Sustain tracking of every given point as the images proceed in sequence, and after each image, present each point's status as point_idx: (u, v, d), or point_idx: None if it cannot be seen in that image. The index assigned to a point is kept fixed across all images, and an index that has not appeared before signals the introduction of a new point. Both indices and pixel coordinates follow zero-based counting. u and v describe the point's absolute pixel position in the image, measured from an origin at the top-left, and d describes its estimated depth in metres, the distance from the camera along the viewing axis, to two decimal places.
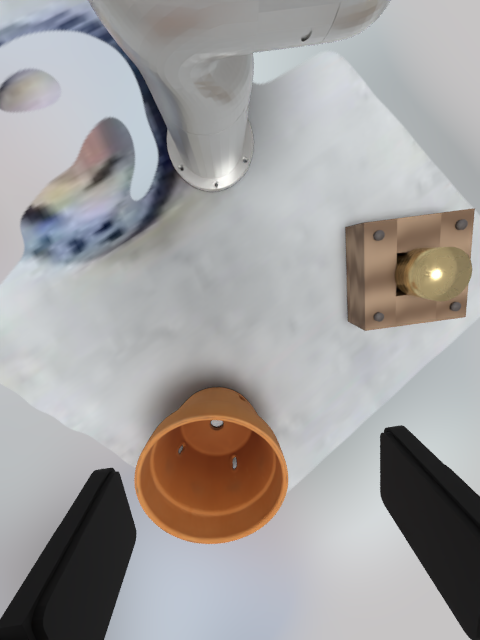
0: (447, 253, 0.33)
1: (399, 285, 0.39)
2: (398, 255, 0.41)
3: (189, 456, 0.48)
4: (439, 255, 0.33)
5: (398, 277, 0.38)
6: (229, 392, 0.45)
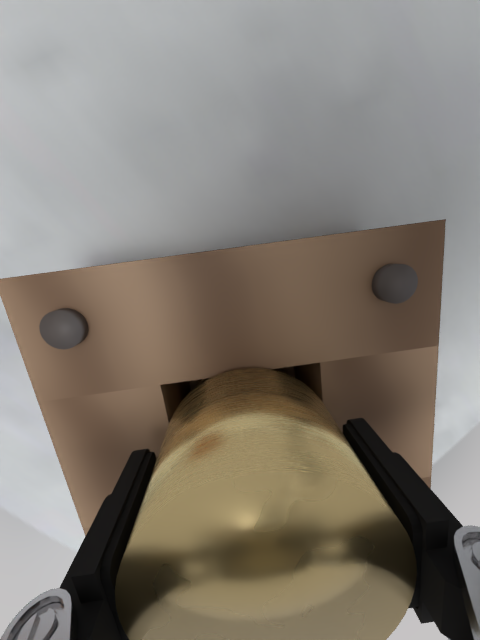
0: (382, 583, 0.06)
1: (203, 389, 0.10)
2: None
3: None
4: (377, 549, 0.06)
5: (234, 379, 0.09)
6: None
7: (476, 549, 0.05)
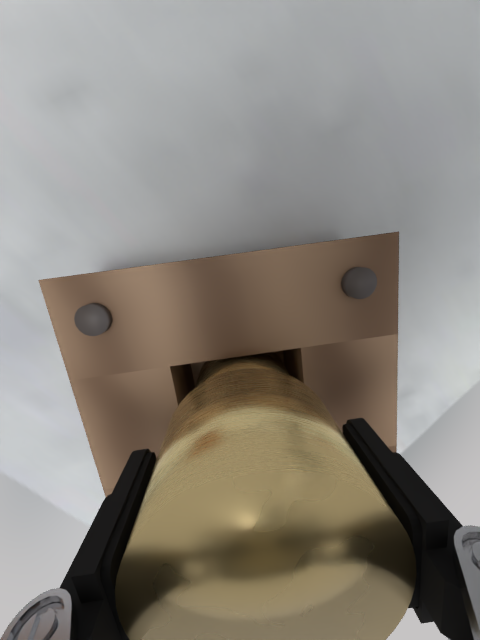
0: (381, 583, 0.06)
1: (203, 389, 0.10)
2: None
3: None
4: (377, 549, 0.06)
5: (234, 379, 0.09)
6: None
7: (476, 549, 0.05)
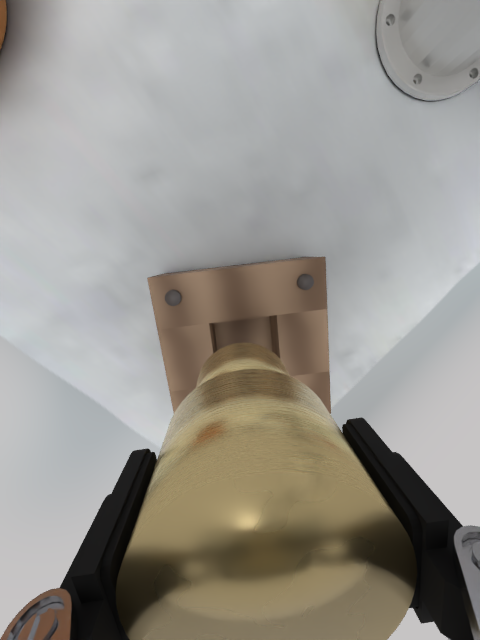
0: (382, 583, 0.06)
1: (204, 389, 0.10)
2: None
3: None
4: (378, 550, 0.06)
5: (234, 379, 0.09)
6: None
7: (476, 549, 0.05)
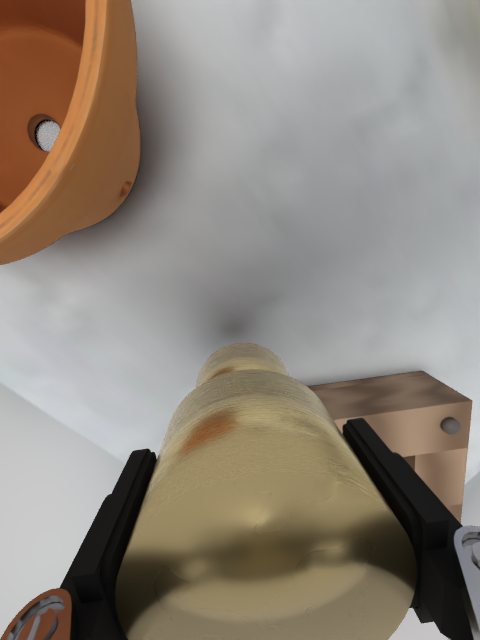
0: (381, 584, 0.06)
1: (203, 390, 0.10)
2: None
3: None
4: (378, 551, 0.06)
5: (234, 380, 0.09)
6: (136, 158, 0.20)
7: (476, 549, 0.05)
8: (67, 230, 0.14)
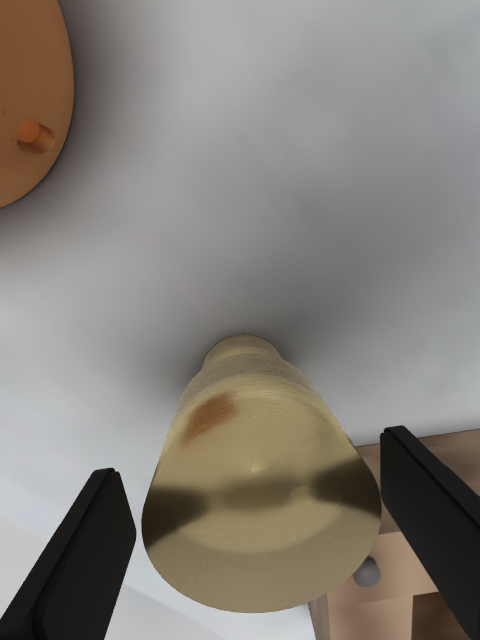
0: (354, 517, 0.08)
1: (209, 370, 0.11)
2: None
3: None
4: (349, 487, 0.07)
5: (235, 361, 0.11)
6: (53, 80, 0.11)
7: None
8: None
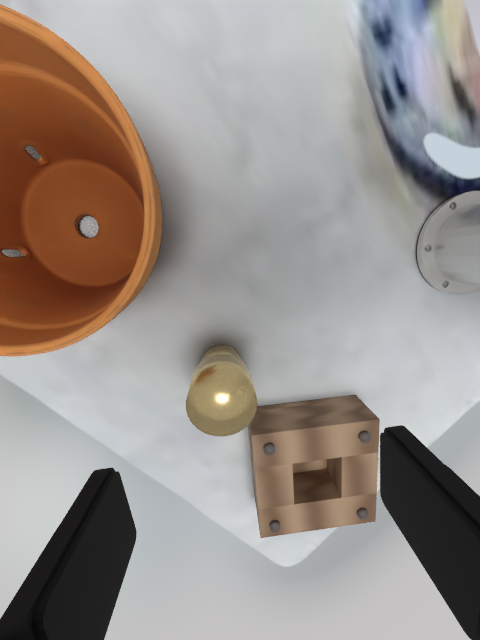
0: (248, 403, 0.26)
1: (206, 359, 0.29)
2: None
3: (18, 168, 0.26)
4: (246, 393, 0.26)
5: (216, 356, 0.29)
6: None
7: None
8: None
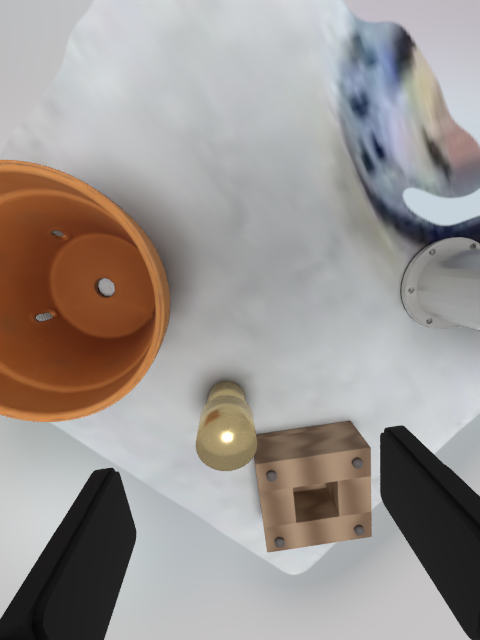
0: (249, 442, 0.30)
1: (212, 401, 0.33)
2: (243, 397, 0.38)
3: (46, 246, 0.31)
4: (247, 434, 0.30)
5: (221, 398, 0.33)
6: None
7: None
8: None
